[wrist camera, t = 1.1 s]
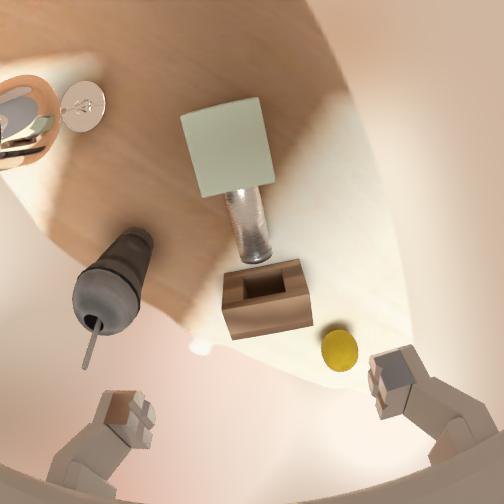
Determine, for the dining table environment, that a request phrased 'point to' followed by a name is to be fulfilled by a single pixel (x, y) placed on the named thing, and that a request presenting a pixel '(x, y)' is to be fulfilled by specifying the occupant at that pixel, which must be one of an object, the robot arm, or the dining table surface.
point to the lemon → (339, 350)
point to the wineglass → (42, 116)
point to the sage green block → (228, 146)
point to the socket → (266, 300)
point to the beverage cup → (113, 287)
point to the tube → (249, 224)
